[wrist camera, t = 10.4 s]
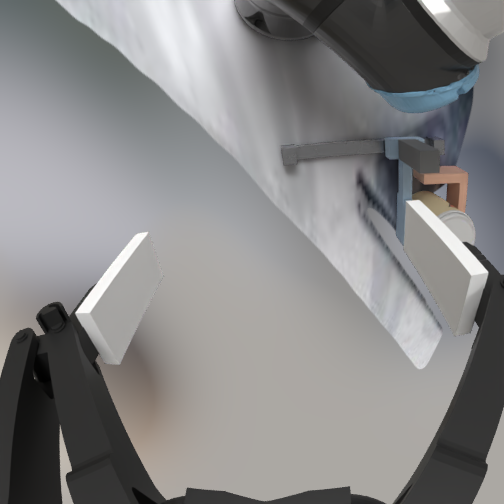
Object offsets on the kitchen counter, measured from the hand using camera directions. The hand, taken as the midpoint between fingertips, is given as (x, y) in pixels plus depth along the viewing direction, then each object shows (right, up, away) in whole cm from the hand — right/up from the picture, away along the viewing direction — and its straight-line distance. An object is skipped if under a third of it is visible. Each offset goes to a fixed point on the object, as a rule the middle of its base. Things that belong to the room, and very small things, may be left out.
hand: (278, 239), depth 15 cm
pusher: (+23, +10, +32) cm, 41 cm away
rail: (+16, +16, +30) cm, 37 cm away
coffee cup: (+28, +7, +34) cm, 45 cm away
